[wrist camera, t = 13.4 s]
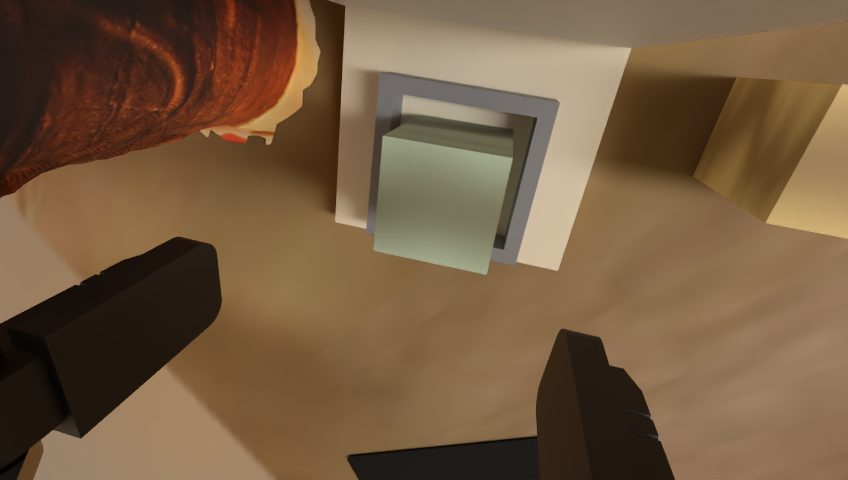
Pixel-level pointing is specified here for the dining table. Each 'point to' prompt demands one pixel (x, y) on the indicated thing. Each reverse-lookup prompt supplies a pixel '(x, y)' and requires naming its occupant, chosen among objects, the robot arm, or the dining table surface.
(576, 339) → the robot arm
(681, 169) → the dining table surface
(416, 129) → the sage block
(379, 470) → the table lamp
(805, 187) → the mustard block
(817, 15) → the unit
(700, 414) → the dining table surface
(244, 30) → the vessel
